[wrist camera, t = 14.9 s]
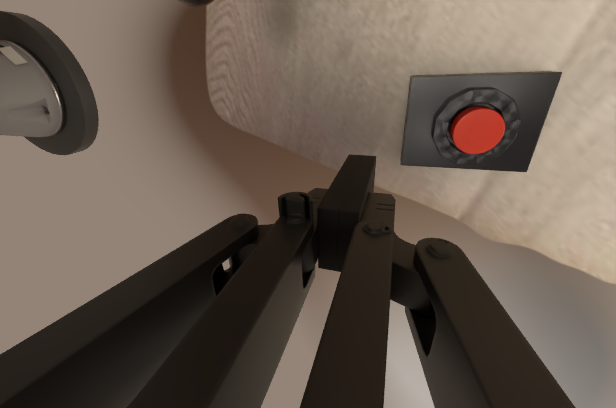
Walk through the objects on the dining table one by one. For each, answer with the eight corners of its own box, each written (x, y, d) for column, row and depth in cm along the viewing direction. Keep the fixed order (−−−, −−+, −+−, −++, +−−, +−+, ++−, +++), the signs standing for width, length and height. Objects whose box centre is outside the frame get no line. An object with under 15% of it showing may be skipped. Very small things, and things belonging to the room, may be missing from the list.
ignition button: (446, 148, 27) (449, 153, 25) (454, 105, 25) (458, 108, 23) (492, 150, 26) (497, 155, 24) (504, 105, 24) (511, 108, 22)
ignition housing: (400, 159, 32) (400, 170, 29) (410, 75, 28) (412, 77, 24) (518, 165, 29) (534, 178, 25) (550, 71, 24) (574, 73, 21)
